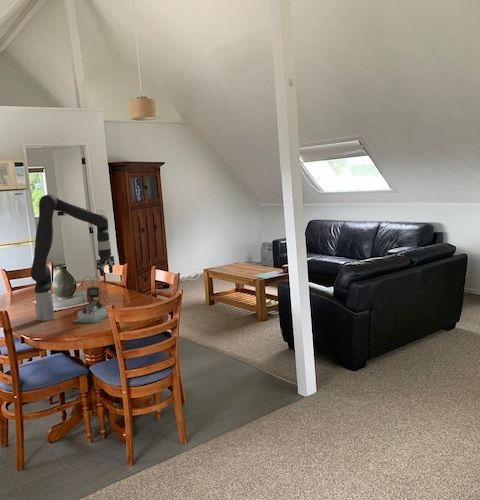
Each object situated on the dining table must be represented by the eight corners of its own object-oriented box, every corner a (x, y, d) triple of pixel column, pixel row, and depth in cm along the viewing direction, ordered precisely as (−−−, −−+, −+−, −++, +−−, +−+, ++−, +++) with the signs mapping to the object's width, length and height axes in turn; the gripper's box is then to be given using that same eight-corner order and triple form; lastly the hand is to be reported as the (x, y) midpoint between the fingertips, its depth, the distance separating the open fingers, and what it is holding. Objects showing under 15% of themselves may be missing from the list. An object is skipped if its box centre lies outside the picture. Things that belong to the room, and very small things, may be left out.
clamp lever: (89, 313, 290) (88, 311, 289) (85, 313, 291) (84, 311, 290) (99, 299, 298) (98, 297, 297) (94, 299, 299) (93, 297, 298)
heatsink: (72, 321, 291) (71, 309, 289) (93, 312, 308) (92, 301, 307) (95, 323, 285) (94, 311, 284) (115, 314, 302) (113, 302, 301)
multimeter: (82, 310, 314) (78, 279, 311) (83, 306, 324) (80, 276, 320) (105, 308, 317) (102, 277, 314) (106, 304, 326) (103, 274, 323)
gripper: (106, 246, 307) (108, 271, 310) (91, 250, 294) (94, 276, 297) (116, 246, 304) (118, 272, 307) (101, 250, 291) (104, 277, 294)
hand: (106, 274), depth 302 cm, fingers open, 8 cm apart
